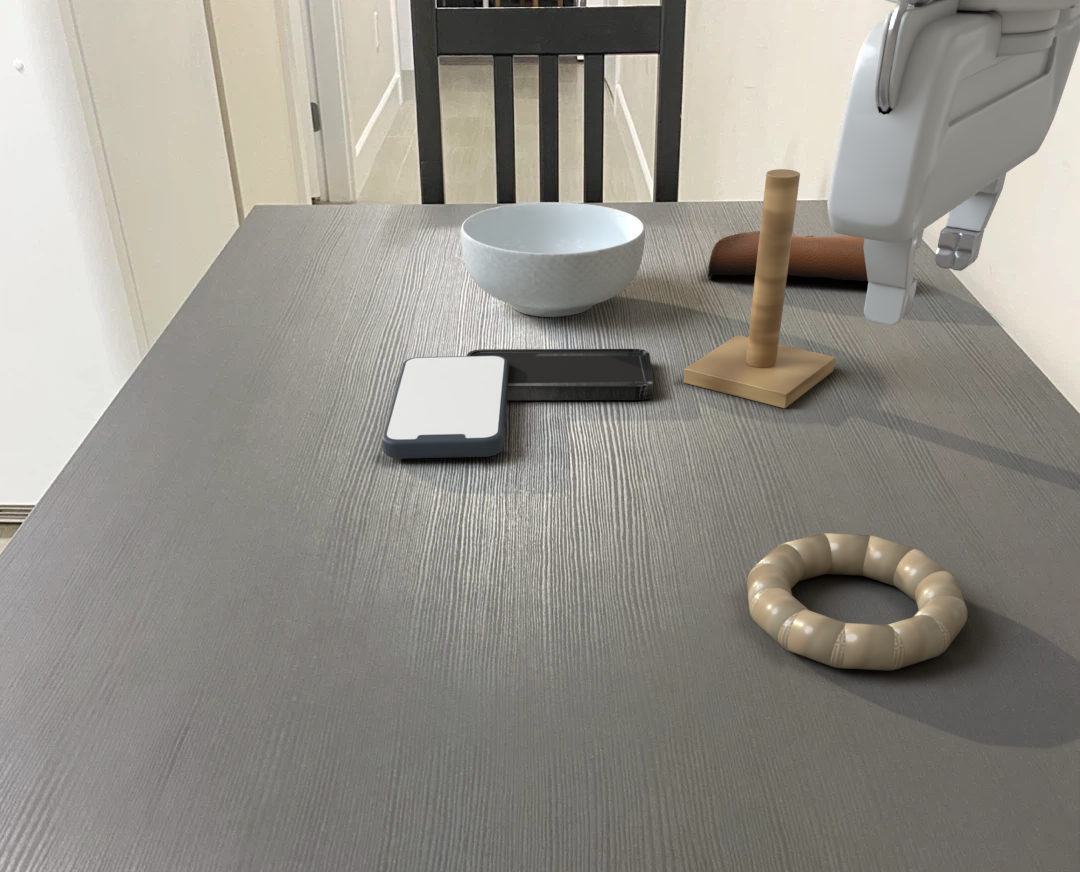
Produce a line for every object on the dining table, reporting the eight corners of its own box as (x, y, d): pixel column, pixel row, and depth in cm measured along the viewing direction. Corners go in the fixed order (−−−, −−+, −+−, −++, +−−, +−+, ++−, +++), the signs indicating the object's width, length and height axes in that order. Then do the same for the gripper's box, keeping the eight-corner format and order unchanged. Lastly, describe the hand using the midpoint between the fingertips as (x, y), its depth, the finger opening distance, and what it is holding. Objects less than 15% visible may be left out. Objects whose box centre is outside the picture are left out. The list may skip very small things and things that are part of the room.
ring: (988, 600, 63) (998, 565, 61) (912, 706, 56) (922, 668, 54) (800, 541, 68) (805, 507, 67) (708, 630, 61) (712, 594, 59)
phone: (653, 386, 84) (460, 386, 85) (653, 400, 85) (461, 400, 85) (648, 348, 90) (468, 348, 91) (647, 361, 91) (468, 361, 91)
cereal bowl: (633, 340, 95) (636, 255, 90) (447, 331, 97) (441, 249, 93) (648, 277, 108) (652, 200, 103) (484, 271, 110) (481, 196, 106)
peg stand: (833, 371, 89) (867, 168, 80) (785, 409, 84) (814, 196, 74) (735, 348, 93) (755, 152, 84) (683, 382, 88) (698, 177, 78)
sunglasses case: (897, 262, 109) (909, 210, 103) (890, 319, 107) (902, 269, 100) (716, 251, 112) (717, 200, 106) (706, 306, 110) (706, 258, 104)
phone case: (404, 375, 90) (380, 463, 77) (402, 356, 89) (377, 442, 76) (511, 372, 89) (504, 461, 77) (510, 353, 88) (503, 440, 76)
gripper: (990, -22, 37) (907, 373, 46) (1131, -66, 50) (1045, 249, 59) (817, -31, 40) (770, 342, 49) (993, -71, 53) (931, 231, 62)
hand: (922, 291), depth 54 cm, fingers open, 8 cm apart
